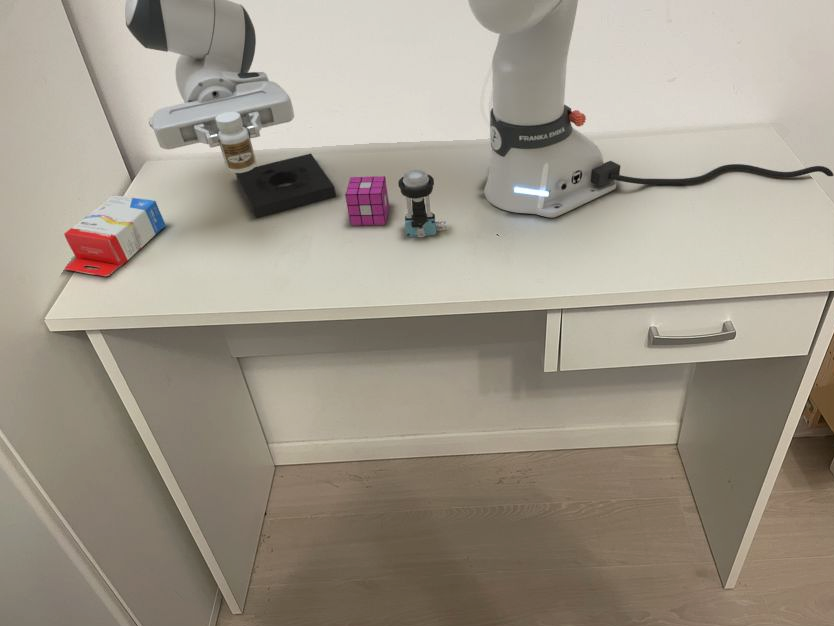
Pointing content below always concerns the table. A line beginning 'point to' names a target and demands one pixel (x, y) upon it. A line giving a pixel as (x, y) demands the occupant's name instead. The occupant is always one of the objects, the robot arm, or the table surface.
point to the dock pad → (274, 198)
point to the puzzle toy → (367, 200)
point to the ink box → (113, 234)
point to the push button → (419, 204)
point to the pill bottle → (235, 143)
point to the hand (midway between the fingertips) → (234, 137)
